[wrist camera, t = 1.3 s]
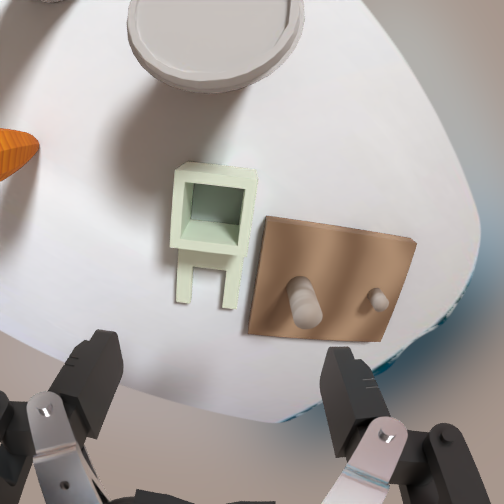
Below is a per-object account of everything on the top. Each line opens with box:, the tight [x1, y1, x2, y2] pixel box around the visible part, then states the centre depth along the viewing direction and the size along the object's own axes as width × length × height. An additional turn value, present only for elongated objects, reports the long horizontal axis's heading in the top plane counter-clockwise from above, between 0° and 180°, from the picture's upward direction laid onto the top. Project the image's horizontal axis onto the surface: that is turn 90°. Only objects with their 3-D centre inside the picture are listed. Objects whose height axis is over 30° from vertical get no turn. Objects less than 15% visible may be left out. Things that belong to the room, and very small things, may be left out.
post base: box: [248, 216, 417, 342], centre depth 28 cm, size 15×12×6 cm
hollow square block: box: [170, 161, 258, 309], centre depth 27 cm, size 14×6×5 cm, turn 172°
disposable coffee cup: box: [127, 0, 305, 93], centre depth 17 cm, size 10×10×12 cm
